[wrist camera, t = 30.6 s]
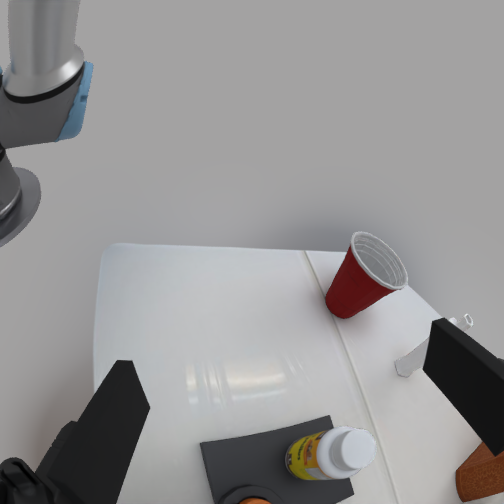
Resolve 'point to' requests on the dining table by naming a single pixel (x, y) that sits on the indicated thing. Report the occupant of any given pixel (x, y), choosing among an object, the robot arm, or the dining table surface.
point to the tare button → (254, 501)
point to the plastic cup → (365, 276)
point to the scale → (267, 469)
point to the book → (480, 475)
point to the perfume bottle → (425, 350)
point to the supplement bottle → (331, 454)
